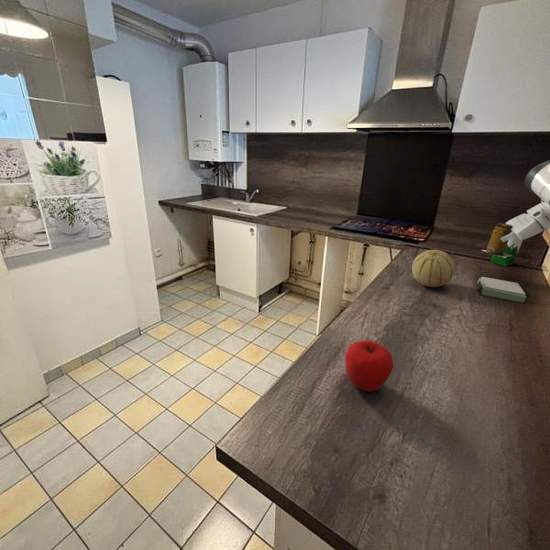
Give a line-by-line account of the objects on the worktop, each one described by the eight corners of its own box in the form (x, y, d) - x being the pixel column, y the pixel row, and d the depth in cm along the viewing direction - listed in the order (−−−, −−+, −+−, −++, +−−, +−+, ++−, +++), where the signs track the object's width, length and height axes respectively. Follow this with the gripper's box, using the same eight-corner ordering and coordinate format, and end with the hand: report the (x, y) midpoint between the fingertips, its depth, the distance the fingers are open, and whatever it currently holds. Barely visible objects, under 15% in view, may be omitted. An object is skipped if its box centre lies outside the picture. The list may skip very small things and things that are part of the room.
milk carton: (487, 261, 146) (501, 222, 138) (496, 258, 150) (510, 220, 142) (507, 267, 139) (522, 226, 131) (516, 264, 143) (531, 224, 135)
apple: (335, 387, 64) (341, 347, 60) (350, 364, 72) (356, 326, 67) (380, 409, 59) (390, 367, 55) (391, 381, 67) (401, 342, 62)
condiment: (493, 249, 126) (503, 222, 121) (513, 256, 118) (523, 227, 113) (480, 250, 124) (489, 223, 119) (499, 257, 117) (509, 228, 112)
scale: (515, 290, 115) (518, 282, 114) (524, 303, 105) (527, 294, 104) (476, 283, 120) (478, 275, 119) (480, 294, 111) (483, 286, 109)
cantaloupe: (447, 282, 120) (457, 247, 114) (450, 296, 108) (462, 258, 102) (409, 275, 126) (417, 241, 120) (407, 288, 113) (416, 251, 107)
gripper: (526, 206, 120) (490, 226, 128) (542, 215, 103) (499, 237, 111) (536, 218, 120) (499, 237, 128) (552, 229, 103) (509, 250, 111)
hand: (499, 238), depth 119 cm, fingers closed on condiment, 6 cm apart
